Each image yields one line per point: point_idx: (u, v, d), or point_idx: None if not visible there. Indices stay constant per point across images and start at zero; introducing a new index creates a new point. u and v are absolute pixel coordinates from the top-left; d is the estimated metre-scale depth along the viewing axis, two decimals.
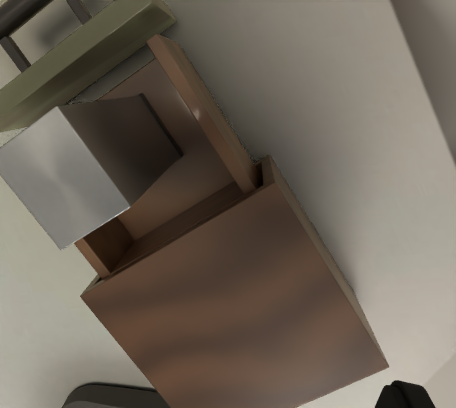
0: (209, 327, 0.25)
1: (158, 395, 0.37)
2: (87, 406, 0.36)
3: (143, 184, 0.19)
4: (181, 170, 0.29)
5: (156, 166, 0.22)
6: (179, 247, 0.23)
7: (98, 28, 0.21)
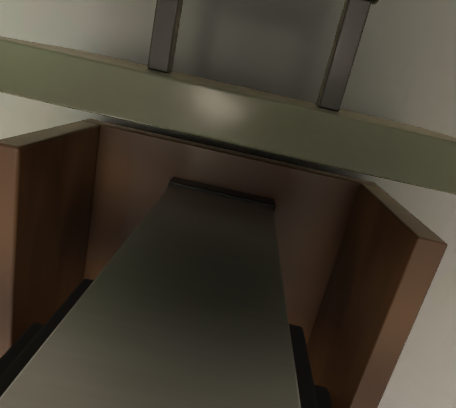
0: None
1: None
2: None
3: None
4: None
5: None
6: None
7: (378, 152, 0.09)
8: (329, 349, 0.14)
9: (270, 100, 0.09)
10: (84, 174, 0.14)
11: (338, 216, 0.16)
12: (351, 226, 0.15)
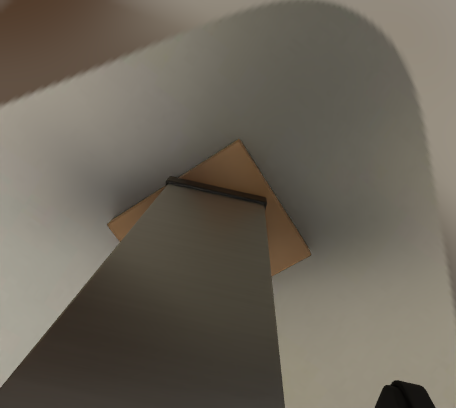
0: None
1: None
2: None
3: None
4: None
5: None
6: None
7: None
8: None
9: None
10: None
11: None
12: None
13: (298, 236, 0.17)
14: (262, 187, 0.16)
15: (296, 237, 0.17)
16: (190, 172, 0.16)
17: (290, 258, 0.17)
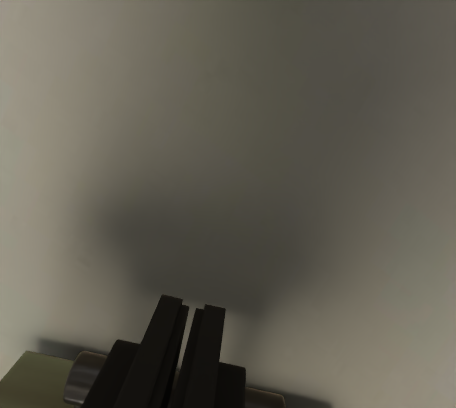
0: None
1: None
2: None
3: None
4: None
5: None
6: None
7: None
8: None
9: None
10: None
11: None
12: None
13: None
14: None
15: None
16: None
17: None
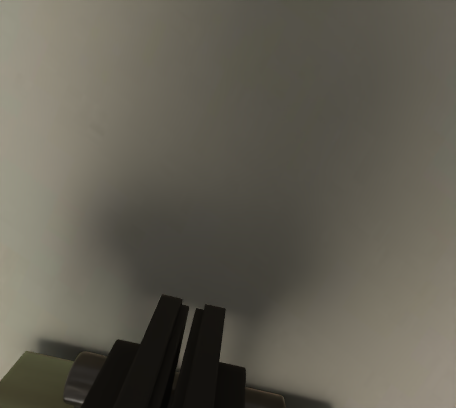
0: None
1: None
2: None
3: None
4: None
5: None
6: None
7: None
8: None
9: None
10: None
11: None
12: None
13: None
14: None
15: None
16: None
17: None
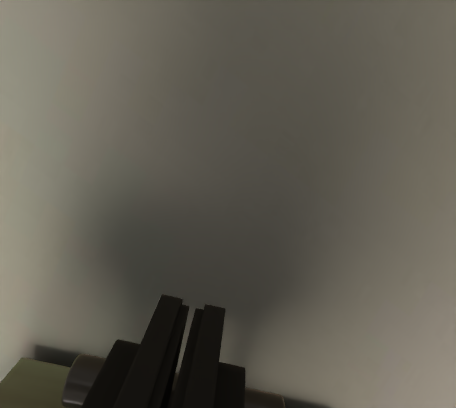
0: None
1: None
2: None
3: None
4: None
5: None
6: None
7: None
8: None
9: None
10: None
11: None
12: None
13: None
14: None
15: None
16: None
17: None
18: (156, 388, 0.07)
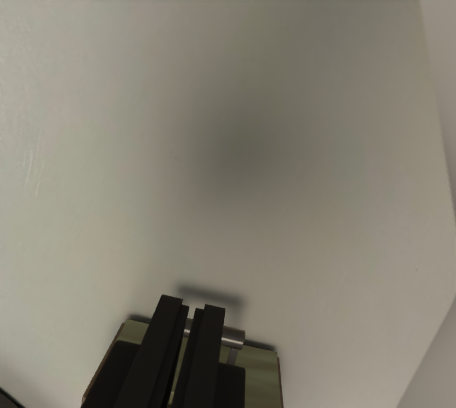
0: None
1: None
2: None
3: None
4: None
5: None
6: None
7: None
8: None
9: None
10: None
11: None
12: None
13: None
14: None
15: None
16: None
17: None
18: (156, 388, 0.07)
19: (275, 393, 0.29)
